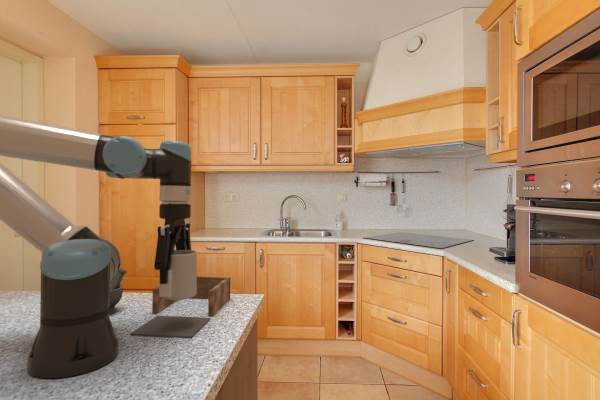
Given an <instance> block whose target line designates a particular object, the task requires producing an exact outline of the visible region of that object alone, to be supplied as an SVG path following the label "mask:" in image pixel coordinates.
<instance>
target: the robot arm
mask: <svg viewBox="0 0 600 400" xmlns="http://www.w3.org/2000/svg"><path fill="white" fill-rule="evenodd" d="M2 156H3V157H7V158H11V159H12V158H13V159H20V160H25V161H26V160H27V161H34V162H38V163H40V162H41V163H46V164H51V165H52V164H53V165H59V166H60V165H61V166H66V167H74V168H78V169H84V170H92V171H99V172H103V173H105V175H106V176H107V177H108V178H114V179H121V180H122V179H133V180H135V179H137V180H141V179H143V180H144V179H146V180H148V179H151V180H159V197H158V198H159V202H160V205H159V207H158V208H159V214H158V216H159V218H160V219H163V220H165V221H164V224H163V226H157V240H156V241H157V242H156V248H155V249H156V250H155V258H154V259H155V260H154V264H153V265H154V266H153V267H154V270H155V271H159V285H158V286H159V297H171V296H172V269H170V266H171V255H173V252H174V250H192V243H191V224H190V223H188V222H186V221H185V219H187V220H188V219H190V218H191V215H192V213H191V210H192V207H191V206H192V205H191V204H190V202H191V200H192V195H191V194H193V190H192V189H191V188H192V186H191V185H192V184H191V183H192V161H193V160H192V147H191V146H190V145H189V143H187V142H184V141H179V140H178V141H176V140H171V141H170V140H165V141H161V142H160V146H159V148H144V146H143V144H141V143H140V141H138V140H136V139H135V138H132V137H130V136H127V135H125V136H124V135H120V136H119V135H118V136H112V135H105V134H102V133H96V132H92V131H86V130H80V129H75V128H70V127H65V126H59V125H54V124H49V123H44V122H37V121H33V120H27V119H22V118H17V117H12V116H7V115H6V116H5V115H2V114H0V157H2ZM0 221H2V222H3V223H4V224H5V225H6V226H7V227H9V228H10V229H11V230H13V231H14V232H15V233H16V234H17V235H19V236H20V237H22V238H23V239H24V240H25V241H26V242H27V243H28V244H30V245H32V246H33V248H35V249H37V251H38V252H40V253H41V260H40V263H39V270H40V307H39V308H40V310H39V311H40V313H39V315H40V316H39V317H40V318H39V328H38V331H37V334H36V336H35V339H34V342H33V343H32V347H31V350H30V352H29V353H28V356H27V373H28V374H29V375H31V376H33V377H36V378H41V379H59V378H60V379H61V378H68V377H74V376H77V375H83V374H86V373H89V372H92V371H95V370H98V369H100V368H102V367H104V366H106V365H108V364H109V363H111V362H113V360H115V359H116V358H117V356H118V355H119V340H118V338H117V335H116V332H115V329H114V325H113V324H112V323H113V322H112V320H111V318H110V314H109V306H110V283H111V281H112V280H113V279H114V278H115V277H116V276H117V274H118V272H119V269H120V268H121V264H122V263H121V262H122V261H121V255H120V252H119V249H118V248H117V247H116V245H114V243H112V242H111V241H108V240H107V239H105V238H101V237H100V236H99V235H98V234H97V233H95V232H94V231H93V230H92V229H90V228H89V227H88V226H86V225H77V224H76V225H75V224H74V223H73V222H71V221H70V220H69V219H68V218H67V217H66V216H64V215H63V214H62V213H60V212H59V211H58V210H57V209H56V208H54V206H52V205H51V204H50V203H49V202H47V200H45V199H44V198H43V197H42V196H41V195H39V194H38V193H37V192H36V191H35V190H33V189H32V188H31V187H30V186H29V185H28V184H26V183H25V182H24V181H23V180H21V179H20V178H19V177H18V176H17V175H16V174H15V173H13V172H12V171H11V170H10V169H9V168H8V167H6V166H5V165H4V164H3V163H2V162H0Z"/></svg>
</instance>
